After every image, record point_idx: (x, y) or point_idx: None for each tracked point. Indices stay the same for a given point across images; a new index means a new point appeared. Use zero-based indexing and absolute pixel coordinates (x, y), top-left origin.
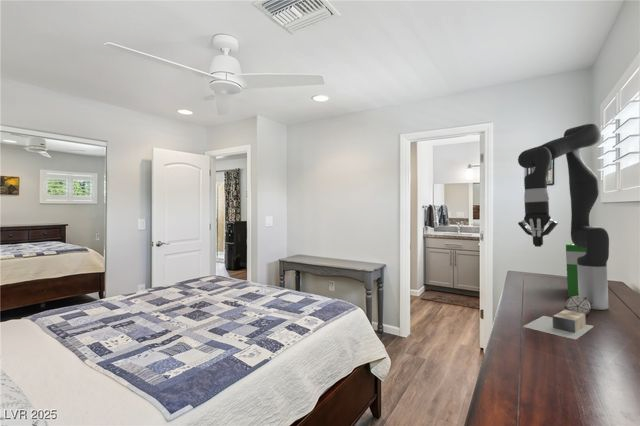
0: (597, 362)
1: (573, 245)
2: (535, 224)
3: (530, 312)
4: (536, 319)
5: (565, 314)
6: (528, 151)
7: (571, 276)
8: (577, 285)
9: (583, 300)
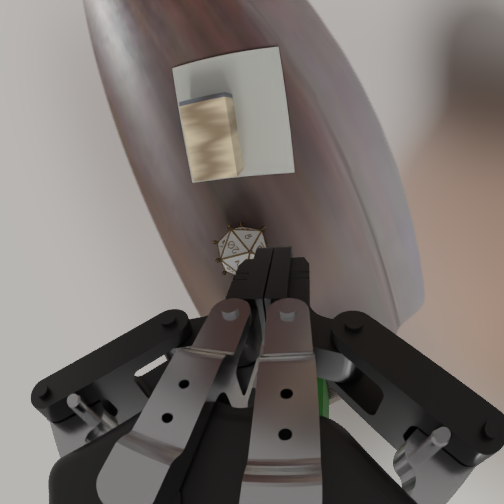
0: (121, 20)
1: None
2: (236, 445)
3: (332, 183)
4: (289, 125)
5: (214, 135)
6: None
7: None
8: None
9: (222, 252)
